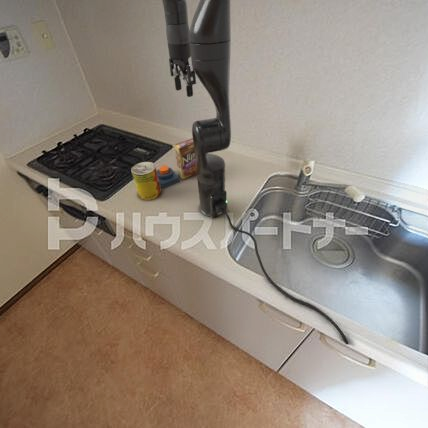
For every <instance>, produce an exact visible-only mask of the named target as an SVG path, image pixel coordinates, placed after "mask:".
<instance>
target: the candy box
mask: <svg viewBox="0 0 428 428" xmlns="http://www.w3.org/2000/svg"><path fill="white" fill-rule="evenodd" d="M174 152H175V160H176V167H177V176H178V177H179V178H180V179H181V180H184V179H188V178H189V177H192V176H195V175H197V167H196V158H195V150H194V143H193V137H191V138H190V139H186V140H183V141H180V142H177V143H174Z"/></svg>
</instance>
